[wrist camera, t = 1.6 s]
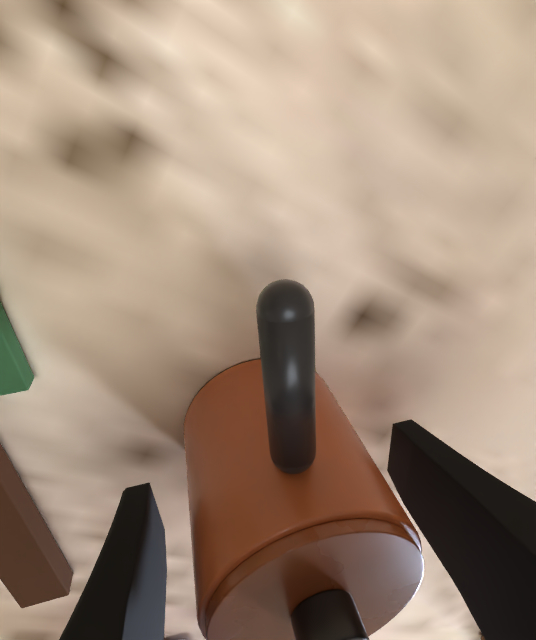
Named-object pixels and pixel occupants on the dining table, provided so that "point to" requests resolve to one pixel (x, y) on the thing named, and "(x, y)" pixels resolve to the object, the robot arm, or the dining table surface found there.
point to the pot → (290, 498)
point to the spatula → (24, 506)
